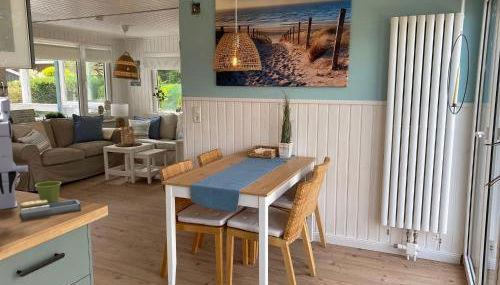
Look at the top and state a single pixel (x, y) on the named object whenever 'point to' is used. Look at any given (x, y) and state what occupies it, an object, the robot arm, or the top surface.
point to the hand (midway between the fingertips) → (6, 192)
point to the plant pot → (49, 191)
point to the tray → (64, 206)
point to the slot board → (35, 211)
